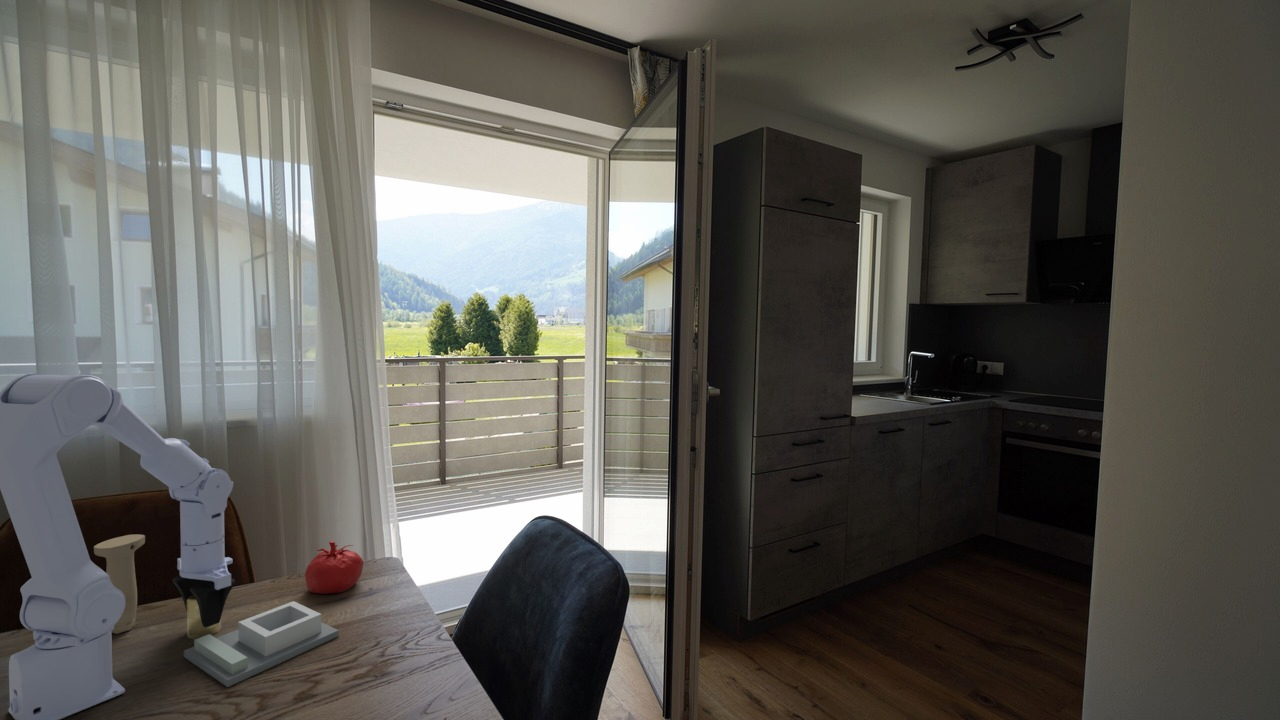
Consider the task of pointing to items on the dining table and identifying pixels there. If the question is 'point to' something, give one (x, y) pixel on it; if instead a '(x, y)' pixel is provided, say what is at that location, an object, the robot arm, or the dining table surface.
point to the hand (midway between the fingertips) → (204, 620)
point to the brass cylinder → (197, 621)
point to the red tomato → (333, 570)
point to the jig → (260, 643)
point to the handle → (122, 573)
